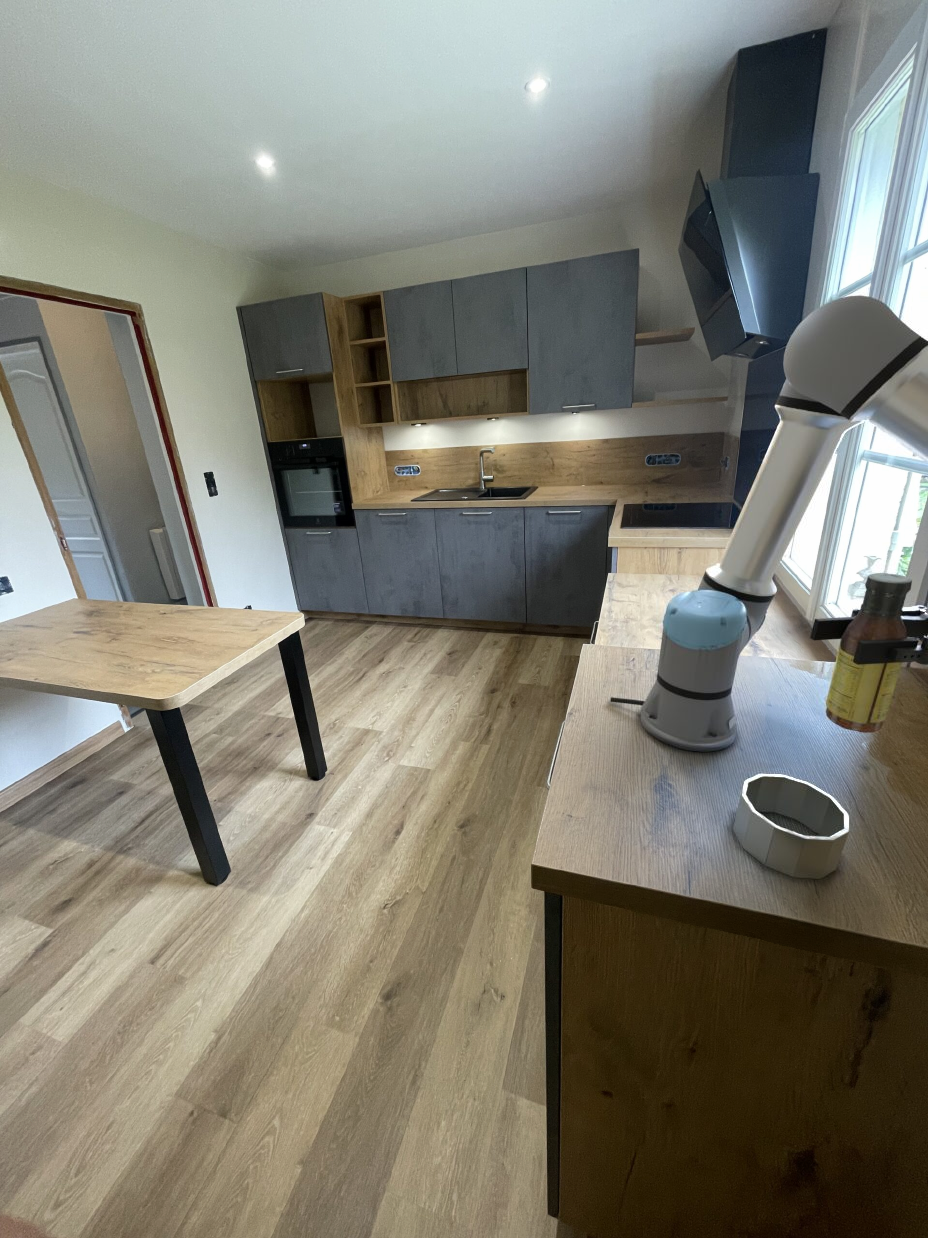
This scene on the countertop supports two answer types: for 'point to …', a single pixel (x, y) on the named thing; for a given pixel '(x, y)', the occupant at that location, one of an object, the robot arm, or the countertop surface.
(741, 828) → the tin
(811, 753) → the countertop surface
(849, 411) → the robot arm
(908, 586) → the sauce bottle
